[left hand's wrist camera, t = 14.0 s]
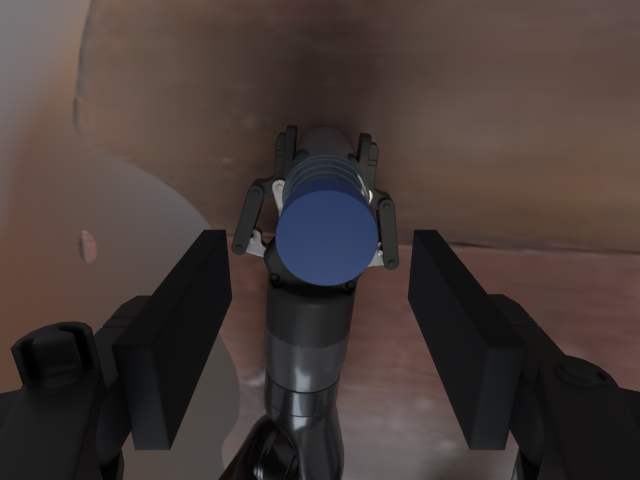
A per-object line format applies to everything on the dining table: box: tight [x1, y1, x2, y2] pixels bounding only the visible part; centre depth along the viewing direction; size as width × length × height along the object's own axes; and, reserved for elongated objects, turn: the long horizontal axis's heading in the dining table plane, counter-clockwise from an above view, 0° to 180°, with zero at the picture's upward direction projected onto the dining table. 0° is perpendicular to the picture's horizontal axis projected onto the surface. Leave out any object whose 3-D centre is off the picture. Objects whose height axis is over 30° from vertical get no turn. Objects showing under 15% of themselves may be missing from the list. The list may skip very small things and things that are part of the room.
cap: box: [275, 178, 378, 286], centre depth 17 cm, size 4×4×2 cm
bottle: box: [282, 126, 370, 206], centre depth 26 cm, size 5×5×21 cm
